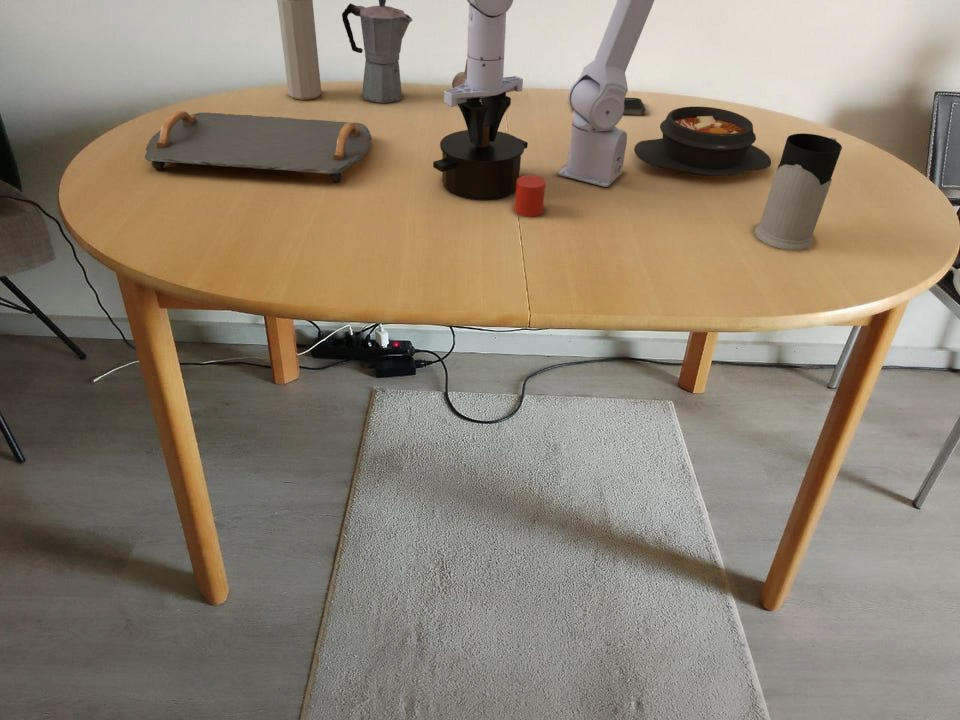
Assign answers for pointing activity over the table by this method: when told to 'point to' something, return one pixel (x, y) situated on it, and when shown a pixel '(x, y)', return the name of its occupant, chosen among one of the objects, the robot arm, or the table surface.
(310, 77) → the water bottle
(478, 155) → the cooker lid
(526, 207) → the tin
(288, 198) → the table surface
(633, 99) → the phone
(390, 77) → the moka pot
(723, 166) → the casserole
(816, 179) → the glass holder
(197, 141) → the serving tray
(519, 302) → the table surface
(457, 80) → the garlic bulb
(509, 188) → the cooker
